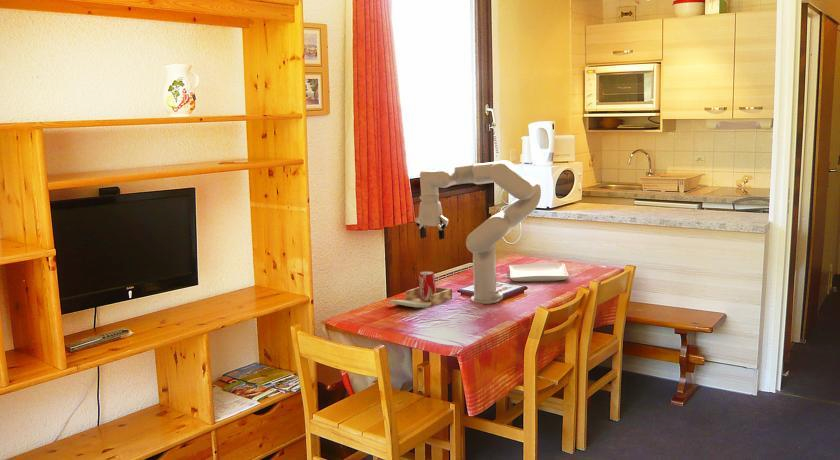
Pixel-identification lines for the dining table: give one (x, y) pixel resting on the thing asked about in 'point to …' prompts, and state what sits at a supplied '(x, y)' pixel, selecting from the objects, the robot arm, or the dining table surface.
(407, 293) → the crate
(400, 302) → the panel
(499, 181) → the robot arm
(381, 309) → the dining table surface
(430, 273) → the soda can
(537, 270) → the square plate
